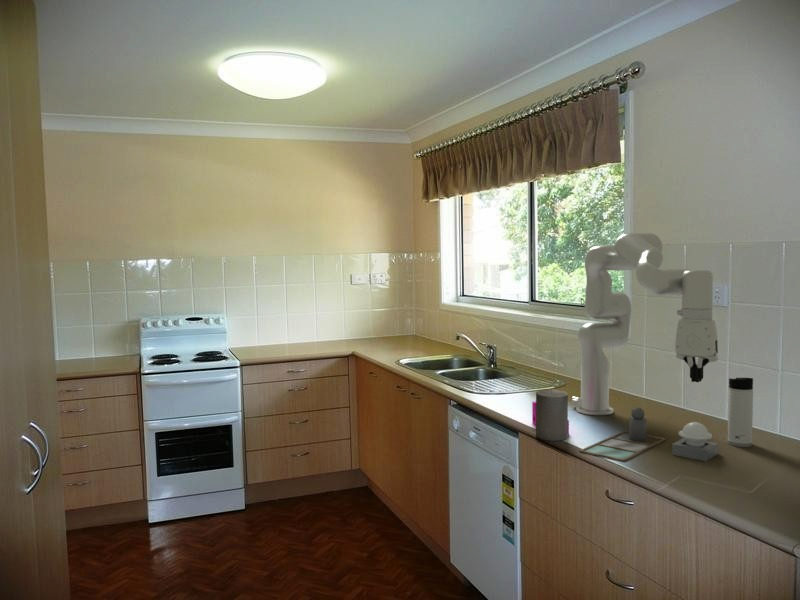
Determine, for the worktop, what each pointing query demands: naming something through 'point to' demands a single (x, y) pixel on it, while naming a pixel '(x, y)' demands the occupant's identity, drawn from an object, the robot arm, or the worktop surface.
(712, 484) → the worktop surface
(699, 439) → the dome
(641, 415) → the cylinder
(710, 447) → the collar
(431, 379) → the worktop surface
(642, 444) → the brown flat rectangular frame
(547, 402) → the pillar candle
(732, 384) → the travel mug
